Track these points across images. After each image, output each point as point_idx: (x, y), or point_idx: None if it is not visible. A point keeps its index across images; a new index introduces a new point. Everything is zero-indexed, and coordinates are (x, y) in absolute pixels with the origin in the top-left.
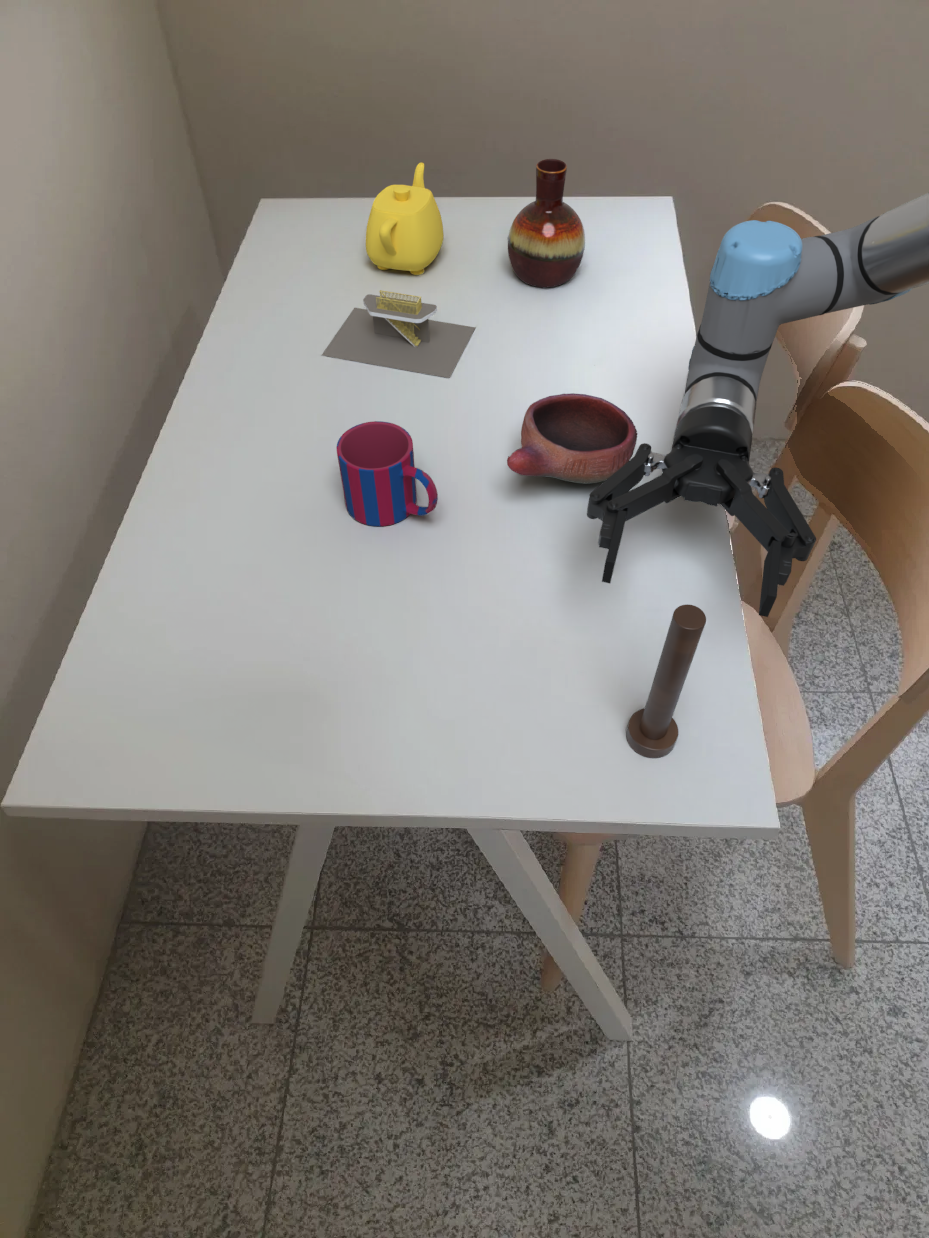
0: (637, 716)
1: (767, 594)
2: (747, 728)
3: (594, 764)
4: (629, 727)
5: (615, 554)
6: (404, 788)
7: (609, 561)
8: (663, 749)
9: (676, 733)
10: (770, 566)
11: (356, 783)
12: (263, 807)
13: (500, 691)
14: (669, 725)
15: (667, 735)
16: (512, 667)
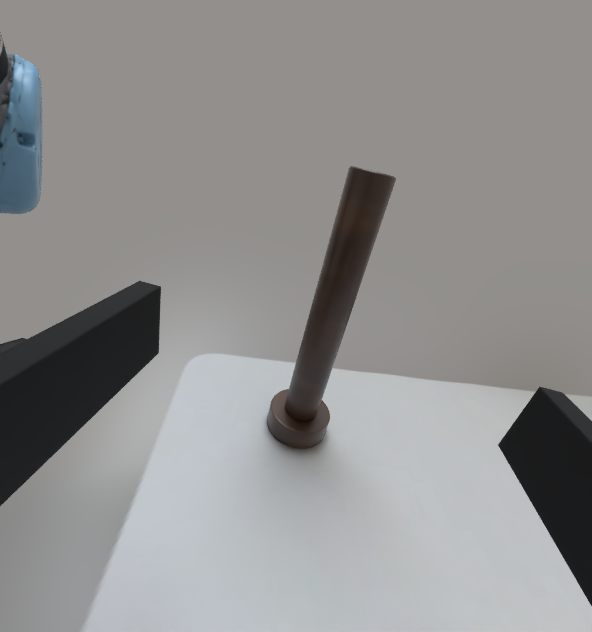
0: (320, 422)
1: (159, 287)
2: (167, 427)
3: (350, 402)
4: (328, 411)
5: (561, 408)
6: (490, 397)
7: (553, 390)
8: (288, 389)
9: (273, 401)
10: (87, 330)
11: (526, 403)
12: None
13: (489, 487)
14: (281, 410)
15: (284, 400)
16: (503, 529)
